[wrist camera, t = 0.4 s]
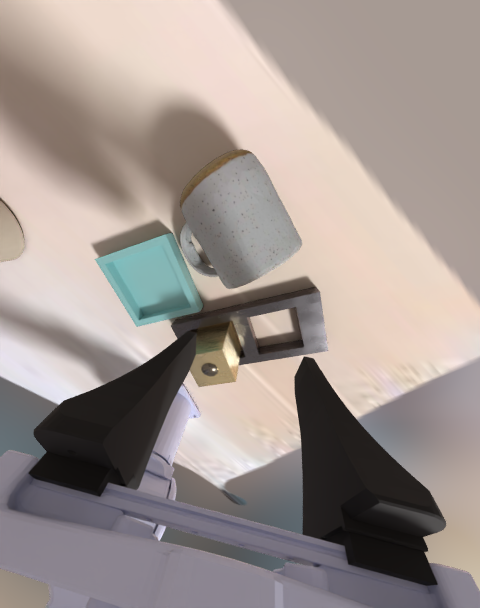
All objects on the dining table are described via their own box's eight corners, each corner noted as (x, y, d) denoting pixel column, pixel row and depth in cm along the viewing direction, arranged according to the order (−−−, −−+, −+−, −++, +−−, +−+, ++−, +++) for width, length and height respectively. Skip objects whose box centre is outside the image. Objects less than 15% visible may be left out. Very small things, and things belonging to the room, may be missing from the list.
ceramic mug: (254, 155, 16) (246, 116, 10) (296, 238, 19) (313, 253, 12) (169, 226, 20) (119, 234, 13) (214, 288, 23) (192, 321, 16)
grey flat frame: (198, 364, 28) (195, 372, 27) (175, 319, 25) (170, 325, 24) (324, 343, 24) (328, 350, 23) (316, 286, 21) (319, 291, 20)
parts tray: (143, 320, 26) (136, 326, 24) (105, 256, 22) (94, 259, 21) (203, 305, 24) (199, 311, 22) (172, 232, 20) (165, 234, 19)
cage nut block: (211, 352, 27) (198, 387, 21) (199, 326, 25) (182, 357, 20) (241, 346, 26) (235, 382, 20) (230, 319, 24) (222, 350, 19)
